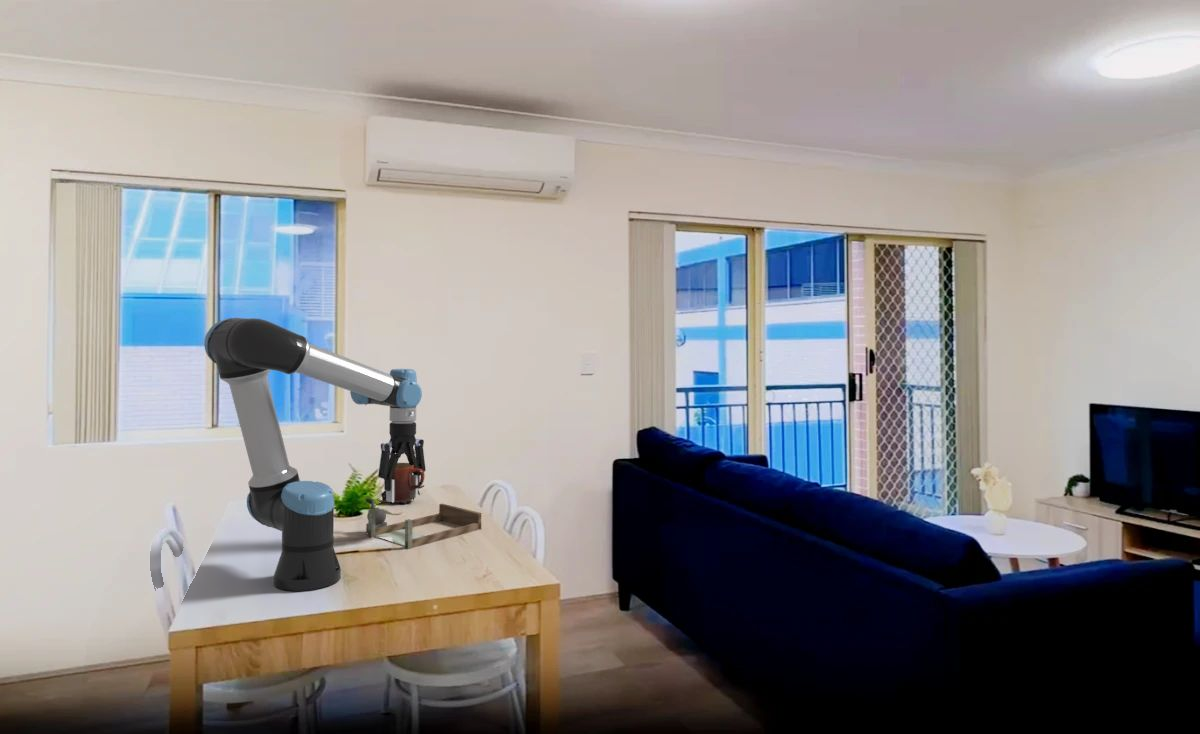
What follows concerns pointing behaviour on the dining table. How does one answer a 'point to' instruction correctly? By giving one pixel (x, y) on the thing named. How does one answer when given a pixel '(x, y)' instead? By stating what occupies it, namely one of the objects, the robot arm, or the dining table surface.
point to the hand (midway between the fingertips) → (402, 499)
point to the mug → (405, 481)
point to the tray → (411, 539)
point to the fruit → (398, 502)
